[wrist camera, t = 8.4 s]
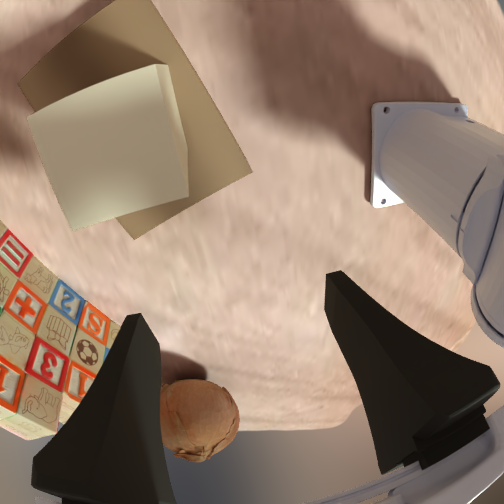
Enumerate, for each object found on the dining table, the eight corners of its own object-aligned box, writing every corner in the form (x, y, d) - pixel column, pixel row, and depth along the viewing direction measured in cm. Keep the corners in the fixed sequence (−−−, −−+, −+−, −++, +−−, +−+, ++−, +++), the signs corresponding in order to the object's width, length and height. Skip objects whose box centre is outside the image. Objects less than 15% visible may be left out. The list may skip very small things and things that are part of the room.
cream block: (167, 64, 12) (155, 63, 7) (187, 147, 14) (188, 196, 10) (82, 94, 11) (26, 117, 7) (106, 171, 14) (72, 231, 9)
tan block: (148, -4, 11) (139, -15, 9) (244, 155, 18) (252, 172, 16) (41, 77, 12) (17, 83, 10) (140, 215, 19) (134, 240, 17)
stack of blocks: (158, 350, 28) (160, 469, 18) (119, 369, 29) (114, 474, 19) (-16, 200, 15) (-104, 319, 5) (-39, 243, 16) (-102, 351, 7)
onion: (179, 403, 35) (184, 473, 27) (134, 372, 29) (132, 456, 21) (245, 385, 34) (260, 459, 26) (209, 349, 28) (221, 443, 21)
